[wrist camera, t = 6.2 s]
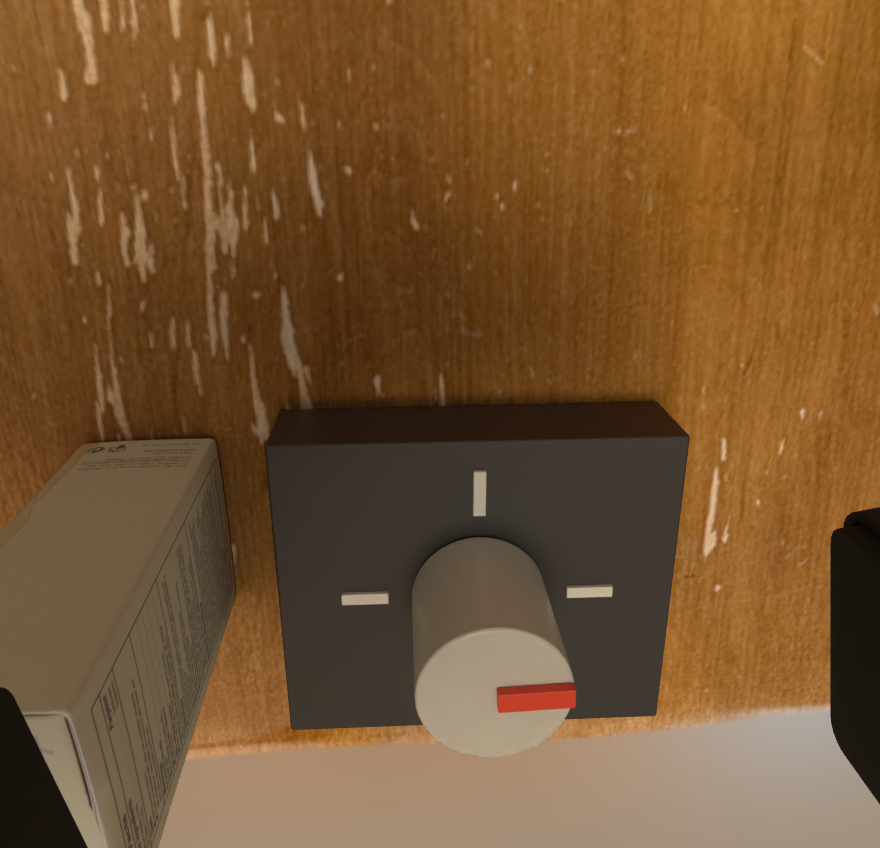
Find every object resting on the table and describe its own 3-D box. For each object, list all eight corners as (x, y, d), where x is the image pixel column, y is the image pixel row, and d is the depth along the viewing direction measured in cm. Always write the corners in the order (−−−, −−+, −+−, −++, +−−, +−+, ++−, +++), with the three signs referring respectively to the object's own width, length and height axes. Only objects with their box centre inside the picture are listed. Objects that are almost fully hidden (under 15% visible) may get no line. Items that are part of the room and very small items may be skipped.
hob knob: (415, 652, 24) (419, 773, 19) (407, 540, 22) (410, 642, 18) (543, 644, 24) (575, 762, 20) (543, 531, 23) (579, 631, 18)
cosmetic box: (80, 438, 24) (-204, 715, 13) (223, 434, 24) (70, 702, 13) (114, 609, 26) (-102, 972, 15) (245, 603, 26) (130, 958, 15)
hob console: (301, 670, 28) (290, 734, 25) (279, 408, 24) (263, 448, 21) (631, 658, 28) (658, 720, 25) (657, 400, 25) (693, 437, 22)
